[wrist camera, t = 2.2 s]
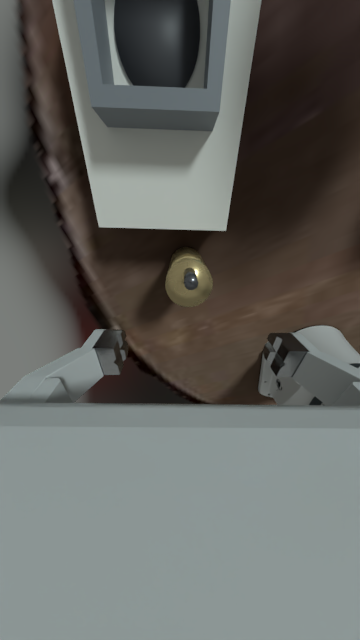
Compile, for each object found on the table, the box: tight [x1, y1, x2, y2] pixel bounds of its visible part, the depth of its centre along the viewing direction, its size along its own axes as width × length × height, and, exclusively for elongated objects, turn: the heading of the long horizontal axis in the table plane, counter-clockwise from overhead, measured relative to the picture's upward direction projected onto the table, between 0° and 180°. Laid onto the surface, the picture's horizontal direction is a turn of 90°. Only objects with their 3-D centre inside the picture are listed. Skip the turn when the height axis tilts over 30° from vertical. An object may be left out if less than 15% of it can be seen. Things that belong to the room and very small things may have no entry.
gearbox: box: [52, 0, 261, 231], centre depth 13 cm, size 22×14×9 cm, turn 179°
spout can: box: [165, 247, 213, 307], centre depth 20 cm, size 5×5×13 cm
